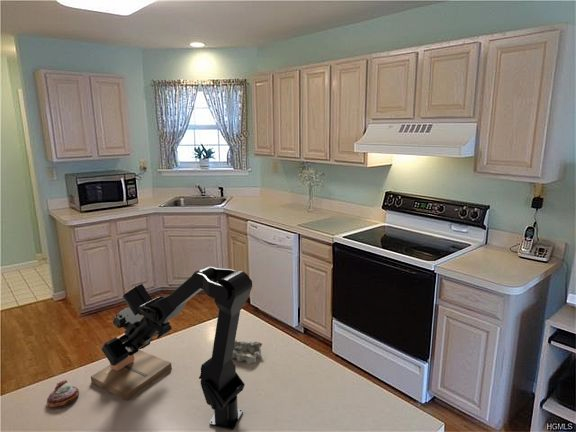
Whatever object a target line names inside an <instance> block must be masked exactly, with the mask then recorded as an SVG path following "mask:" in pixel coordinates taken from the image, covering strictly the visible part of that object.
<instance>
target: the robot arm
mask: <svg viewBox="0 0 576 432" xmlns="http://www.w3.org/2000/svg"><path fill="white" fill-rule="evenodd" d="M252 289H253V281H252V279H251V278H250V276H249V275H248V273H246V272H245V271H244V270H234V269H232V268H219V267H218V268H217V267H215V266H209V265H206V266H204V267H201V268H200V269H198V270H195V271H194V272H193V273H192V275H191V276H189V278H187V279H186V280H185V281H184V282H183V283H182V284H180V285H179V286H178V287H177V288H176V289H175V290H174V291H173V292H171V293H170V294H168V295H166V296H164V295H159V296H157V297H155V298H153V299H152V297H151V295H150V294H149V292H148V291H147V290H146V288H145V286H144V284H143V283H140V284H137V285H135V286H134V287H133V288H131V289H130V290H128V292H127V291H126V293H124V294H123V295H122V299H123V300H124V301H125V304H127V307H126V308H124V309H121V310H120V311H119V312H118V313H116V315H115V316H113V320H112V324H113V325H114V326H115V327H116V328H117V329H125V330H124V331H123V333H125V335H123V336H121V337H120V338H116V337H117V336H116V337H114V338H113V337H112V339H110V340H108V341H106V342H104V343H103V345H101V349H100V350H101V351H102V352H103V355H104V356H105V357H106V359H107V361H109V364H110V363H111V365H113V366H115V365H117V364H118V363H120V362H122V361H123V360H125V359H126V358H127V357H128V355H129V356H131V355H133V354H135V353H136V352H138V351H139V350H142V349H145V348H146V347H148V346H150V345H151V342H152V341H153V340H154V339H153V338H154V337H156V336H157V339H158V340H159V339H161V338H162V337H164V336H165V335H167V334H168V333H169V332H171V331H172V325H171V323H170V320H172V319H174V318H175V317H176V316H179V315H180V314H181V312H182V311H183V310H184V309H185V306H186V304H187V302H188V301H190V300H191V299H192V298H193V297H195V296H196V295H197V294H198V293H199V292H200V293H201V291H202V290H203V291H204V293H205V294H206V296H207V297H209V298H213V299H214V303H215V305H216V307H217V309H218V314H217V320H216V328H215V334H214V340H213V346H212V354H211V357H210V358H209V359H207V360H206V361H205V362H203V363H202V364H201V366H200V375H199V377H198V379H200V387H201V390H202V392H203V395H204V400H205V401H206V404H207V405H209V406H210V407H211V409H212V410H214V414H213V415H212V418H211V419H210V420H209V423H208V424H209V425H210V426H213V427H218V428H224V429H227V430H234V429H235V428H236V426H237V424H238V422H239V420H240V418H241V416H242V414H243V412H244V410H243V409H241V408H238V407H239V406H238V395H239V394H240V393H241V392H243V390H244V389H245V386H246V385H245V382H244V381H243V380H242V378H241V377H240V376H239V374H238V373H237V371H236V370H237V369H236V368H237V367H236V363H235V361H234V360H233V358H232V355H233V350H235V348H234V343H235V340H236V336H237V331H238V325H239V320H240V315H241V311H242V309H243V307H244V305H245V304H246V302H247V300H248V299H249V297H250V294H251V291H252Z"/></svg>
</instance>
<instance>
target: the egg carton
mask: <svg viewBox="0 0 576 432" xmlns="http://www.w3.org/2000/svg"><path fill="white" fill-rule="evenodd" d="M262 346H263V343H262V342H258V341H253V342H251V341H249V342H247V341H238V340H236V339H235V343H234V349H233V355H232V359H236V362H240V363H241V362H242V361H246V364H248V365H251V364H252V363H254V364H255V363H256V362H257V358H260V357H261V356H262V349H261V347H262ZM245 351H249V352H250V353H251V354H250V353H249V354H246V353H244V352H245Z"/></svg>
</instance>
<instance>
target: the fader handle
mask: <svg viewBox="0 0 576 432" xmlns="http://www.w3.org/2000/svg"><path fill="white" fill-rule="evenodd" d="M123 335H125V333H124V332H123V333H122V334H120V335H118V336H116V338H120V337H121V336H123ZM133 361H134V354H133V355H131V356H129V355H128V357H127V358H126V359H125V360H123V361H122V362H120V363H118V364H117V365H115V366H113V365H111V363H110V362H109V365H110V368H112V369H114V370H116V371H118V370H120V369H122V368H123V367H125V366H126V365H128V364H130V363H131V362H133Z"/></svg>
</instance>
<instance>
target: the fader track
mask: <svg viewBox="0 0 576 432" xmlns="http://www.w3.org/2000/svg"><path fill="white" fill-rule="evenodd" d="M171 370H172V362H170V361H168V360H165V359H163V358H160V357H158V356H156V355H154V354H151V353H148V352H146V351H143V350H142V349H139V351H138V352H136V353H135V354H134V361H133V362H131V363H130V364H128V365H126V366H125V367H123V368H122V369H120V370H118V371H116V370H114V369H112V368H110V364H109V365H107V366H106V367H104V368H103V369H101V370H99V371H97V372H96V373H94V374H92V375H91V376H90V380H91V383H92V384H93V385H95V386H97V387H100V388H102V389H104V390H105V391H107V392H109V393H111V394H114V395H115V396H117V397H119V398H121V399H123V400H124V401H129V400H130V399H131V398H133V397H134V396H136V395H137V394H139V393H140V392H141V391H143V390H144V389H145V388H147V387H148V386H149V385H151V384H152V383H154V382H155V381H157V380H158V379H159V378H161V377H163V375H165V374H167V373H168V372H170V371H171Z"/></svg>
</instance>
